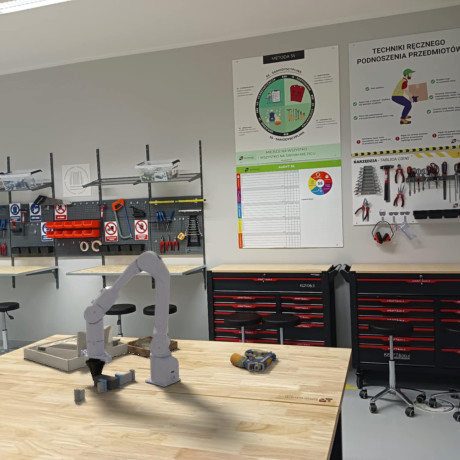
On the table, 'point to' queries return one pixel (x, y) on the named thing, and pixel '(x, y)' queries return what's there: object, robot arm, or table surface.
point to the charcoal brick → (107, 381)
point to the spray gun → (253, 359)
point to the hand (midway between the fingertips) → (96, 380)
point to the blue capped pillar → (102, 387)
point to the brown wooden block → (146, 352)
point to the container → (76, 344)
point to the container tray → (71, 363)
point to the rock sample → (143, 343)
